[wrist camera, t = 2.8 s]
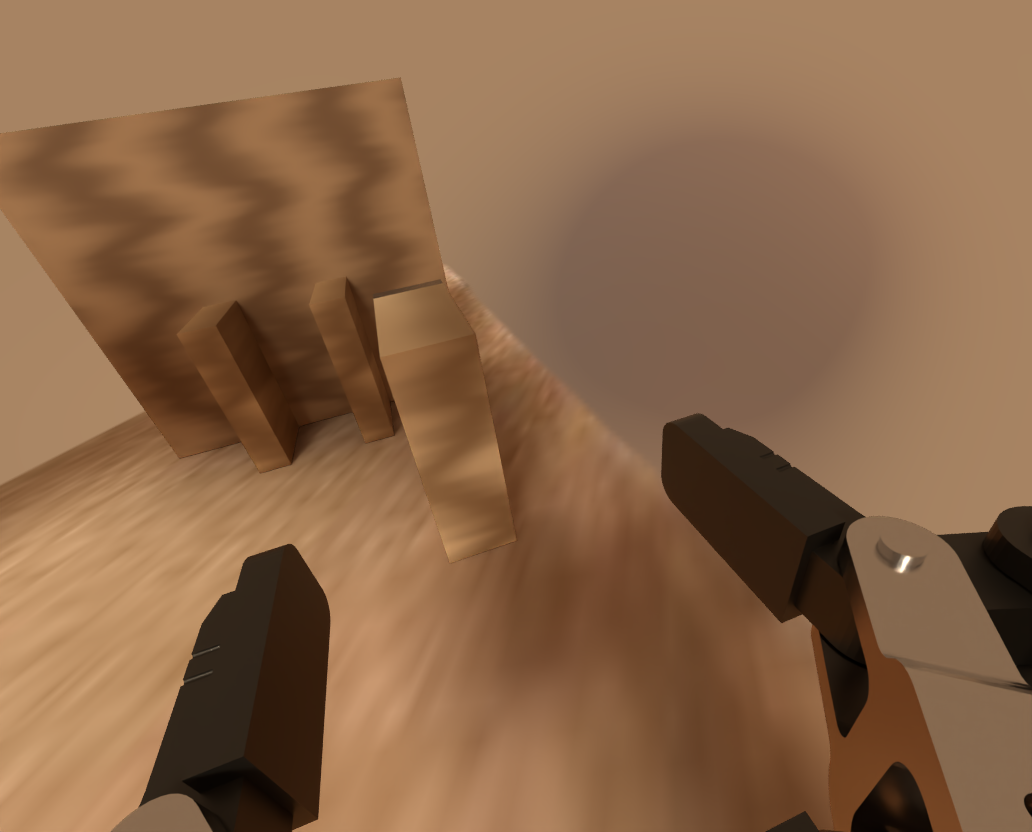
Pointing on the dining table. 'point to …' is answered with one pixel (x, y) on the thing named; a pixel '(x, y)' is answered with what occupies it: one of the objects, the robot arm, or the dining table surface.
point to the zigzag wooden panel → (234, 254)
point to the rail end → (445, 415)
